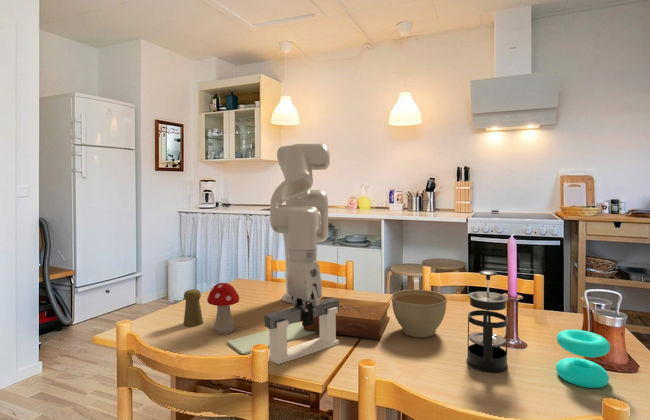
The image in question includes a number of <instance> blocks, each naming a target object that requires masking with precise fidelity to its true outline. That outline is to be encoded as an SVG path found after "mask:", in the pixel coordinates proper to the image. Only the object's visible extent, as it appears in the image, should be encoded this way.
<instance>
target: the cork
mask: <svg viewBox="0 0 650 420" xmlns="http://www.w3.org/2000/svg"><path fill="white" fill-rule="evenodd" d="M201 296H202V294H201V291H200V290H199V289H195V288H194V289H188V290H185V292H184V294H183V299H184V300H185V308H184V318H183V326H184V327H188V328H191V327H194V328H195V327H198V326H199V327H200V326H201V325H203V324H204V320H203V314H202V308H201V301H200V299H201Z"/></svg>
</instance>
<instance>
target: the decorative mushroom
mask: <svg viewBox="0 0 650 420" xmlns="http://www.w3.org/2000/svg"><path fill="white" fill-rule="evenodd" d="M206 301H207V303H208V304H209V305H212V306H217V308H216V309H217V310H216V317H215V323H214V325H213V330H214V332H215V333H216V334H217V335H231V334H233V333H235V329H236V326H235V323H234V321H233V316H232V311H231V306H232V305H235V304H237V303H240V295H239V294H238V292H237V291H236V289H235V287H234V286H233V285H232V284H231V283H227V282H219V283H217V284H215V285H214V286H212V287H211V289H210V292H209V294H208V296H207V300H206ZM215 333H214V334H215Z"/></svg>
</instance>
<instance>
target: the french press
mask: <svg viewBox="0 0 650 420" xmlns="http://www.w3.org/2000/svg"><path fill="white" fill-rule="evenodd" d="M478 273H479V275H483V276H485V280H486V288H487V289H486V291H473V292H469V293H468V295H467V296H468V298H469V305H470V306H471V307H473V308H476V310H472V311H469V312H468V313H467V357H466V363H467V365H468V366H469V367H470V368H473V370H474V369H475V370H477V371H479V372H483V373H488V374H489V373H490V374H499V373H504V372H505V371H507V370H508V369H509V364H508V334H509V333H508V332H509V331H508V326H509V325H508V323H509V317H508V316H507V315H505V314H503V313H501V312H498V311H502V310H505V309H506V308H507V302H508V301H509V297H508V296H506V295H504V294H502V293H497V292H492V291H490V281H491V276H497V275H498V274H499V273H498V272H496V271H492V270H480V271H478ZM477 309H478V310H477ZM479 309H480V310H479ZM476 316H479V317H480V316H482V320H479V319H475V318H473V317H476ZM491 317H493V318H497V319H499V320H502V321H498V322H496V321H495V322H492V321H491V320H492V319H491ZM470 324H471V325H475V326H477V327H482V331H476V332H472V333H470ZM502 328H505V337H503V336H502V335H499V334H497V333H494V331H493V329H502ZM470 342H471V343H472V344H470ZM504 346H505V349H504V348H502V347H504Z"/></svg>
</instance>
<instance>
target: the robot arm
mask: <svg viewBox="0 0 650 420" xmlns="http://www.w3.org/2000/svg"><path fill="white" fill-rule="evenodd" d="M276 158H277V161H278V165H279V167H280V169H281V172H282V174H283V177H284V180H283V181H282V182H281V183H280V184H279V185H278V186H277V187H276V189H275V190H274V191H273V193H272V196H271V198H270V204H269V207H270V208H269V209H270V210H269V221H270V227H271V229H272V231H274V233H277V234H282V236H283V242H284V243H283V244H284V255H285V256H284V257H285V259H284V260H285V293H284V294H283V295H282V297H281V298H282V299H281V300H282V301H283V302H284V303H288V304H292V308H293V307H297V306H301V305H303V309H304V311H302V321H300V322H299V323H301V322H302V323H301V324H302V326H304V327H306V326H309V325H312V324H313V310H314V309H315V306H317V305H319V304H320V301H319V299H321V298H322V297H323V294H322V292H323V290H322V275H321V269H320V264H319V261H318V247H317V246H318V245H317V243H323V242H325V241H326V240H327V239H328V236H329V201H328V196H327V195H328V194H327V193H326V192H325V190H322V189H311V188H312V187H313V183H314V178H313V171H314V170H315V171H316V170H317V171H321V170H322V171H323V170H325V171H326V170H327V169H328V168H329V166H330V160H331V156H330V151H329V148H328V146H327V145H326V144H324V143H295V144H292V145H282V146H281V147H279V148H278V149H277V151H276ZM283 203H285V206H284V205H283V206H282V204H283ZM307 304H308V305H307ZM296 323H297V322H296Z"/></svg>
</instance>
